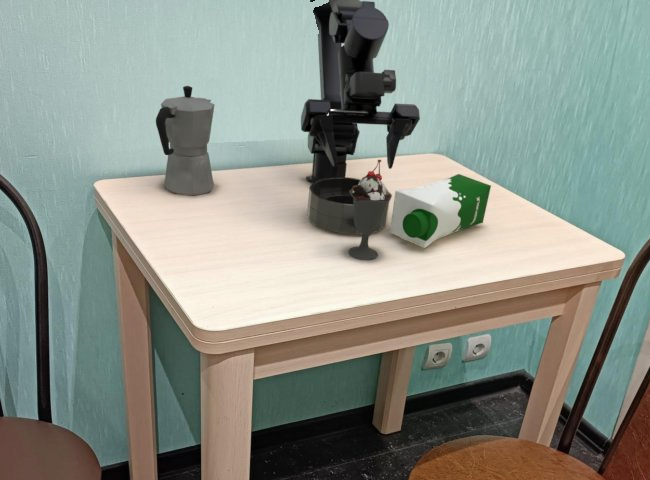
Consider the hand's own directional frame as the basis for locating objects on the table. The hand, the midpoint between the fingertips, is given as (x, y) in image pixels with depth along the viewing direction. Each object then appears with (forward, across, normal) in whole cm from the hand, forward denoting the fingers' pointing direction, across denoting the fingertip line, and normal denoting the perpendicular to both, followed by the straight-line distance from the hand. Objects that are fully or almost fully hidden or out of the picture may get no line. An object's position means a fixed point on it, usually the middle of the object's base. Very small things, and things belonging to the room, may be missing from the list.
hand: (363, 166), depth 122 cm
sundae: (+13, 0, +4) cm, 14 cm away
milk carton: (0, +23, +12) cm, 26 cm away
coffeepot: (-6, -28, +24) cm, 37 cm away
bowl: (+4, 0, +14) cm, 14 cm away
